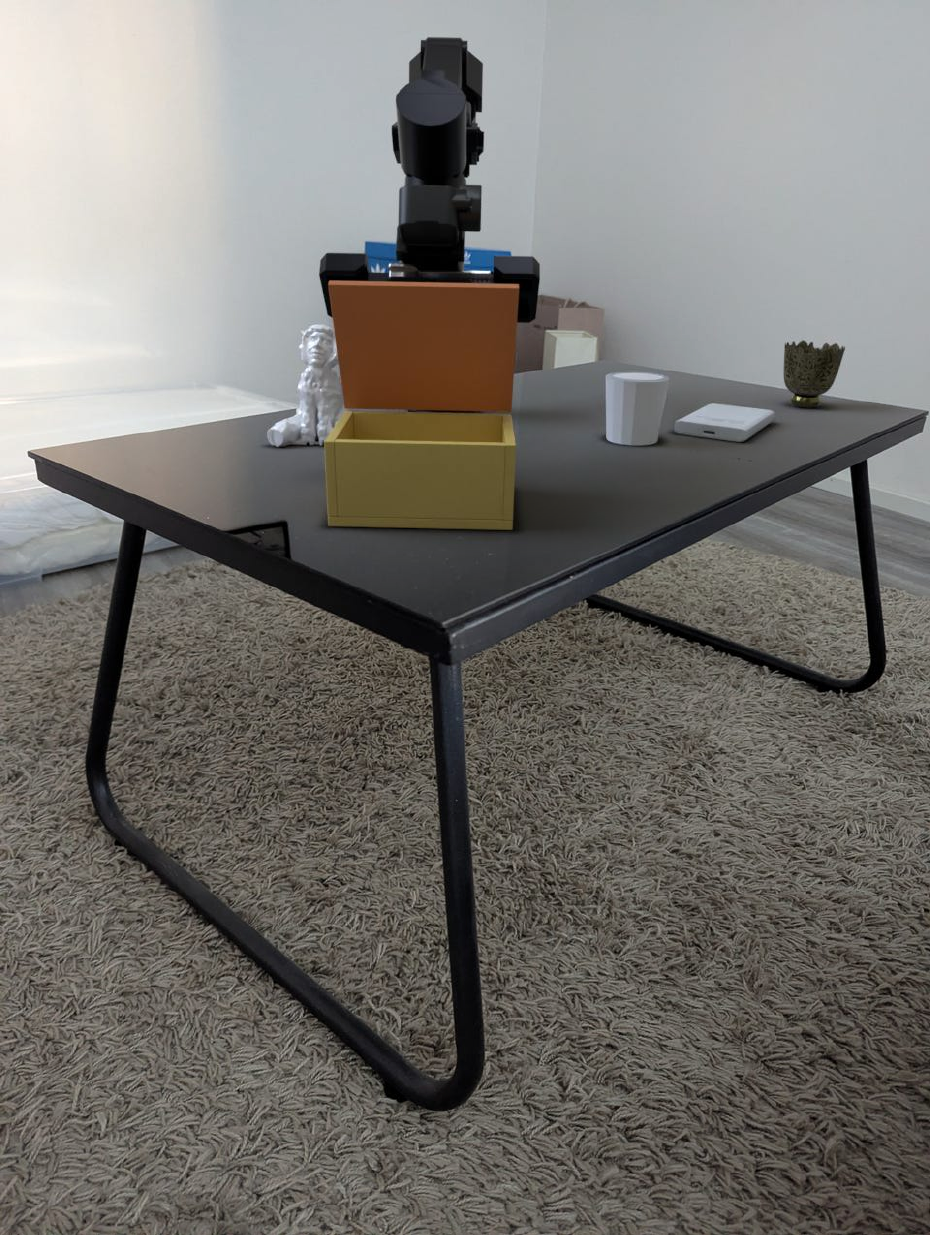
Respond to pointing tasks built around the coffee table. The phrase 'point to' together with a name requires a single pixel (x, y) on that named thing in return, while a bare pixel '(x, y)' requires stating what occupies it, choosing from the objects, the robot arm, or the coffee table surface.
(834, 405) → the coffee table surface
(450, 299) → the lid
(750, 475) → the coffee table surface
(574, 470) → the coffee table surface
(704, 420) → the hard drive
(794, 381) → the cup
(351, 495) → the open yellow box
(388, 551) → the coffee table surface
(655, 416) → the shot glass
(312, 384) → the sitting furry creature
